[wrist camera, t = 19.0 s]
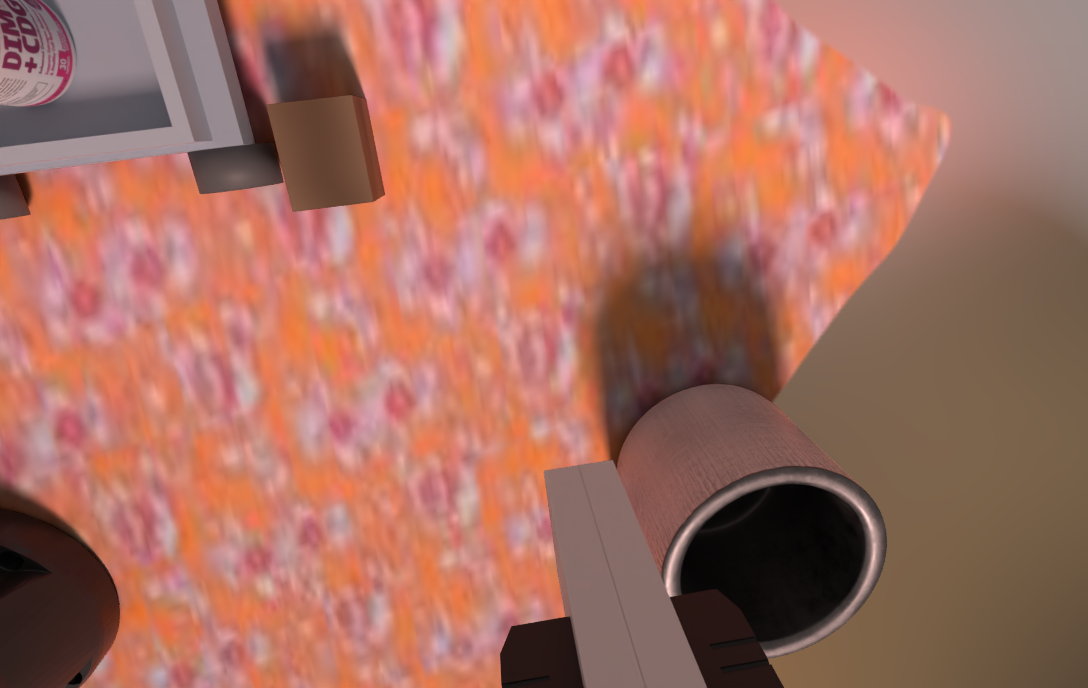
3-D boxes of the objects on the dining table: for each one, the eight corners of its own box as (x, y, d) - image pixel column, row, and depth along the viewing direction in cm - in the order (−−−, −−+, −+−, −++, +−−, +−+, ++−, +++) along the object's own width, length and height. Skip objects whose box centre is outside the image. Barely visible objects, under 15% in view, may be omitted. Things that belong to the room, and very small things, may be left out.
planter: (642, 362, 39) (703, 446, 28) (814, 396, 41) (929, 485, 31) (592, 524, 43) (630, 651, 32) (752, 547, 45) (836, 673, 34)
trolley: (-39, 222, 32) (-254, 258, 23) (-176, -87, 27) (-520, -203, 18) (293, 180, 33) (219, 198, 24) (216, -125, 28) (86, -254, 19)
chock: (313, 203, 34) (292, 211, 30) (291, 108, 32) (266, 104, 28) (385, 194, 34) (373, 201, 30) (366, 99, 32) (351, 94, 28)
